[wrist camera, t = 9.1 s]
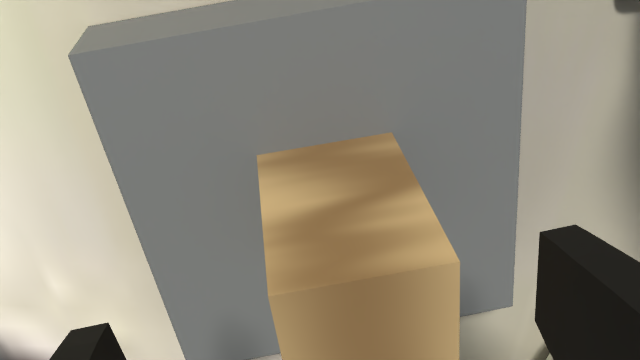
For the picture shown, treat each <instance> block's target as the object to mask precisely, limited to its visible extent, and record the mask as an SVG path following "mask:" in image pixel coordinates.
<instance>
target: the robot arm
mask: <svg viewBox="0 0 640 360" xmlns="http://www.w3.org/2000/svg"><path fill="white" fill-rule="evenodd" d="M535 322H536V324H537V326H538V328H539V330H540V333H541V335H542V337H543V339H544V341H545V343H546V346H547V348H548V350H549V352H550V354H551V356H552V358H553V360H640V262H638V261H637V260H635V259H633V258H631V257H630V256H628V255H626V254H625V253H623V252H621V251H620V250H618V249H616V248H615V247H613V246H611V245H610V244H608V243H606V242H605V241H603V240H601V239H600V238H598V237H596V236H595V235H593V234H591V233H589V232H588V231H586V230H584V229H582V228H581V227H579V226H577V225H572V226H567V227H562V228H557V229H553V230H548V231H543V232H540V238H539V255H538V273H537V291H536V309H535ZM50 360H126V358H125V356H124V354H123V352H122V350H121V348H120V346H119V344H118V342H117V339H116V337H115V335H114V333H113V331H112V329H111V327H110V325H109V323H104V324H99V325H94V326H90V327H85V328H80V329H75V330H71V331H70V332H69V334H68V335H67V336H66V338H65V339H64V340H63V342H62V343H61V344H60V346H59V347H58V349H57V350H56V351H55V353H54V354H53V355H52V357H51V358H50Z"/></svg>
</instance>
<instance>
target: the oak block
mask: <svg viewBox="0 0 640 360" xmlns="http://www.w3.org/2000/svg"><path fill="white" fill-rule="evenodd" d="M257 166H258V178H259V191H260V203H261V215H262V228H263V240H264V253H265V265H266V278H267V290H268V299H269V303H270V307H271V312H272V316H273V321H274V325H275V330H276V334H277V339H278V343H279V347H280V352H281V356H282V360H459V320H460V261H459V259H458V257H457V255H456V253H455V251H454V249H453V247H452V245H451V244H450V242H449V240H448V238H447V236H446V234H445V232H444V230H443V228H442V226H441V225H440V223H439V221H438V219H437V217H436V215H435V213H434V211H433V209H432V208H431V206H430V204H429V202H428V200H427V198H426V196H425V194H424V192H423V190H422V189H421V187H420V185H419V183H418V181H417V179H416V177H415V175H414V173H413V172H412V170H411V168H410V166H409V164H408V162H407V160H406V158H405V156H404V154H403V153H402V151H401V149H400V147H399V145H398V143H397V141H396V139H395V137H394V136H393V134H392V132H390V133H385V134H379V135H373V136H367V137H361V138H355V139H349V140H343V141H337V142H332V143H326V144H320V145H314V146H308V147H302V148H296V149H290V150H284V151H278V152H273V153H267V154H261V155H257Z"/></svg>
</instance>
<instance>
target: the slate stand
mask: <svg viewBox="0 0 640 360" xmlns="http://www.w3.org/2000/svg"><path fill="white" fill-rule="evenodd" d="M526 3H527V0H234V1H228V2H223V3H217V4H212V5H206V6H200V7H195V8H189V9H184V10H178V11H172V12H167V13H161V14H156V15H150V16H144V17H139V18H133V19H128V20H122V21H116V22H111V23H105V24H100V25H94V26H88V28H87V29H86V30H85V32H84V33H83V35H82V36H81V37H80V39H79V40H78V42H77V43H76V45H75V46H74V47H73V49H72V50H71V52H70V53H69V54H68V57H69V59H70V62H71V65H72V67H73V70H74V72H75V75H76V77H77V80H78V83H79V85H80V88H81V90H82V93H83V96H84V98H85V101H86V103H87V106H88V108H89V111H90V114H91V116H92V119H93V121H94V124H95V127H96V129H97V132H98V134H99V137H100V140H101V142H102V145H103V147H104V150H105V152H106V155H107V158H108V160H109V163H110V165H111V168H112V171H113V173H114V176H115V178H116V181H117V183H118V186H119V189H120V191H121V194H122V196H123V199H124V202H125V204H126V207H127V209H128V212H129V214H130V217H131V220H132V222H133V225H134V227H135V230H136V233H137V235H138V238H139V240H140V243H141V246H142V248H143V251H144V253H145V256H146V258H147V261H148V264H149V266H150V269H151V271H152V274H153V277H154V279H155V282H156V284H157V287H158V289H159V292H160V295H161V297H162V300H163V302H164V305H165V308H166V310H167V313H168V315H169V318H170V320H171V323H172V326H173V328H174V331H175V333H176V336H177V339H178V341H179V344H180V346H181V349H182V352H183V354H184V357H185V359H186V360H248V359H253V358H258V357H263V356H268V355H273V354H278V353H281V352H280V347H279V343H278V339H277V334H276V330H275V325H274V321H273V316H272V312H271V307H270V303H269V299H268V290H267V278H266V265H265V253H264V240H263V228H262V215H261V203H260V191H259V178H258V166H257V155H261V154H267V153H273V152H278V151H284V150H290V149H296V148H302V147H308V146H314V145H320V144H326V143H332V142H337V141H343V140H349V139H355V138H361V137H367V136H373V135H379V134H385V133H390V132H392V134H393V136H394V137H395V139H396V141H397V143H398V145H399V147H400V149H401V151H402V153H403V154H404V156H405V158H406V160H407V162H408V164H409V166H410V168H411V170H412V172H413V173H414V175H415V177H416V179H417V181H418V183H419V185H420V187H421V189H422V190H423V192H424V194H425V196H426V198H427V200H428V202H429V204H430V206H431V208H432V209H433V211H434V213H435V215H436V217H437V219H438V221H439V223H440V225H441V226H442V228H443V230H444V232H445V234H446V236H447V238H448V240H449V242H450V244H451V245H452V247H453V249H454V251H455V253H456V255H457V257H458V259H459V261H460V317H461V316H466V315H471V314H476V313H481V312H486V311H491V310H496V309H501V308H506V307H511V306H513V285H514V264H515V242H516V220H517V198H518V177H519V155H520V133H521V111H522V90H523V68H524V46H525V25H526Z"/></svg>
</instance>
